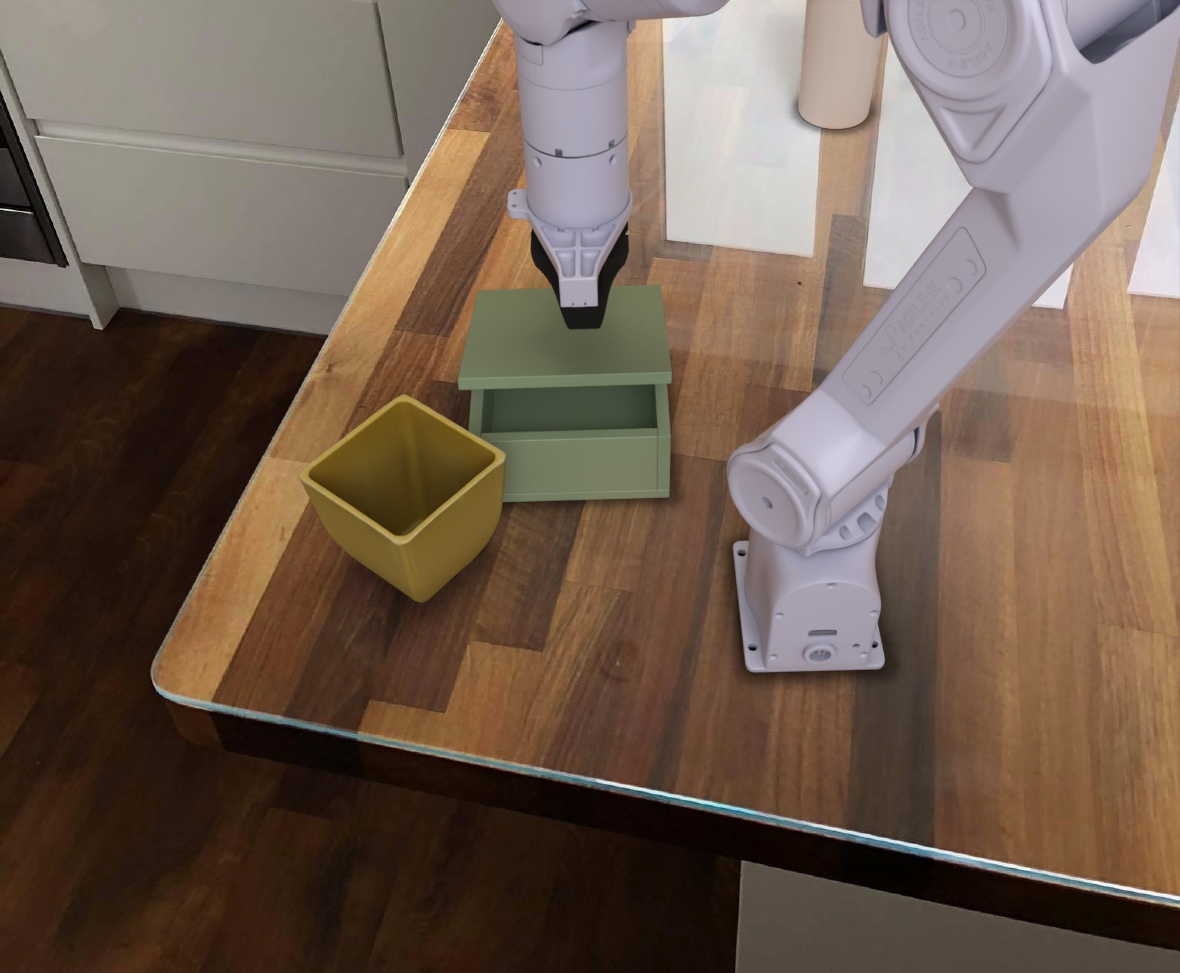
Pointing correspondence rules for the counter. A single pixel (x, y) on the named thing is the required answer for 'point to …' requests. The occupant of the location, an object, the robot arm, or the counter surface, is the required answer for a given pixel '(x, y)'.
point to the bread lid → (565, 342)
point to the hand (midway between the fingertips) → (584, 321)
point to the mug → (837, 64)
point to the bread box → (578, 440)
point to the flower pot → (409, 495)
